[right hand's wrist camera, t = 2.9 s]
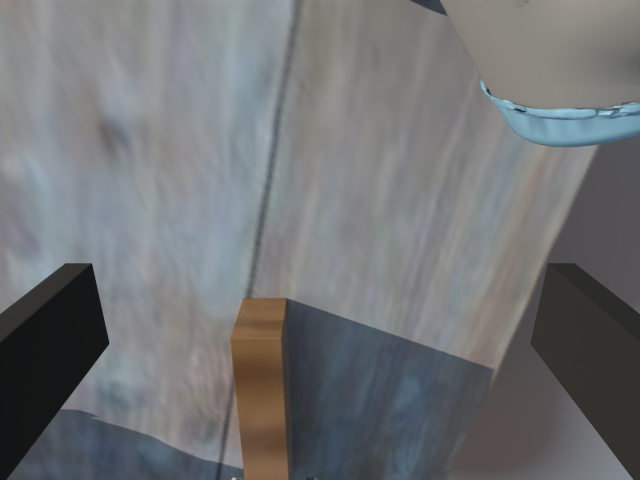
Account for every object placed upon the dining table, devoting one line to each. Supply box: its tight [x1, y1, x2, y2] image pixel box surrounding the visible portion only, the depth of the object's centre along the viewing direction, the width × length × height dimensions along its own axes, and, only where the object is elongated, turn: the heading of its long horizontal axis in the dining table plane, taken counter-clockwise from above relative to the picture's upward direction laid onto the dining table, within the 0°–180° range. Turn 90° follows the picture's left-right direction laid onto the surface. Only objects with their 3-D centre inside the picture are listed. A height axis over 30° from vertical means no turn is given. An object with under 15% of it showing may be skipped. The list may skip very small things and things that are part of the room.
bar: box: [230, 298, 295, 480], centre depth 52 cm, size 28×5×8 cm, turn 1°
